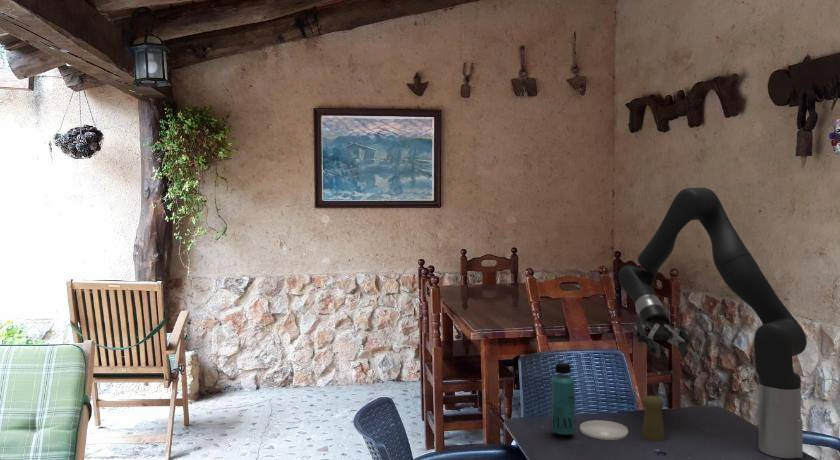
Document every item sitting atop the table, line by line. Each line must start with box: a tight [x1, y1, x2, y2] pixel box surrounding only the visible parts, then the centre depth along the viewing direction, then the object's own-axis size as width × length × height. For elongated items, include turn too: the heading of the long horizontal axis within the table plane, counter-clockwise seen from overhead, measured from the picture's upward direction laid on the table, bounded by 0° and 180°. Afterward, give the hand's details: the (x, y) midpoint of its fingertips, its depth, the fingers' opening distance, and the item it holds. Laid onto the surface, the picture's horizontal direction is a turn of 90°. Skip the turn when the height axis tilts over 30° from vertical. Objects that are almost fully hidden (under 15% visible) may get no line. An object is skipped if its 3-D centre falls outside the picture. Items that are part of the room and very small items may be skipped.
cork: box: [641, 395, 666, 442], centre depth 167 cm, size 6×6×11 cm
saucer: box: [579, 419, 629, 441], centre depth 171 cm, size 13×13×1 cm
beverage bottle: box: [550, 362, 576, 435], centre depth 168 cm, size 6×7×20 cm
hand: (670, 353), depth 165 cm, fingers open, 8 cm apart
